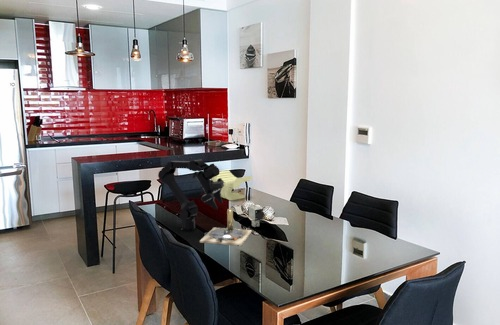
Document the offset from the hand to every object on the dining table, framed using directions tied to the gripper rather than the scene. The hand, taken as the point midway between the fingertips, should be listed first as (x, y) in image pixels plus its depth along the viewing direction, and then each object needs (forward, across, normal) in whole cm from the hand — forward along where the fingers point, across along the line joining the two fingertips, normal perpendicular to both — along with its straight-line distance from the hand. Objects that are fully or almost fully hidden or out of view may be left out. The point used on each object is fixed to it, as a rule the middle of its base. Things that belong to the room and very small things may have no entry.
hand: (219, 206), depth 218 cm
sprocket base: (+15, -8, +2) cm, 17 cm away
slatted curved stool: (+12, +77, +24) cm, 82 cm away
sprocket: (+14, -7, +1) cm, 16 cm away
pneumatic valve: (+23, +14, -7) cm, 28 cm away
